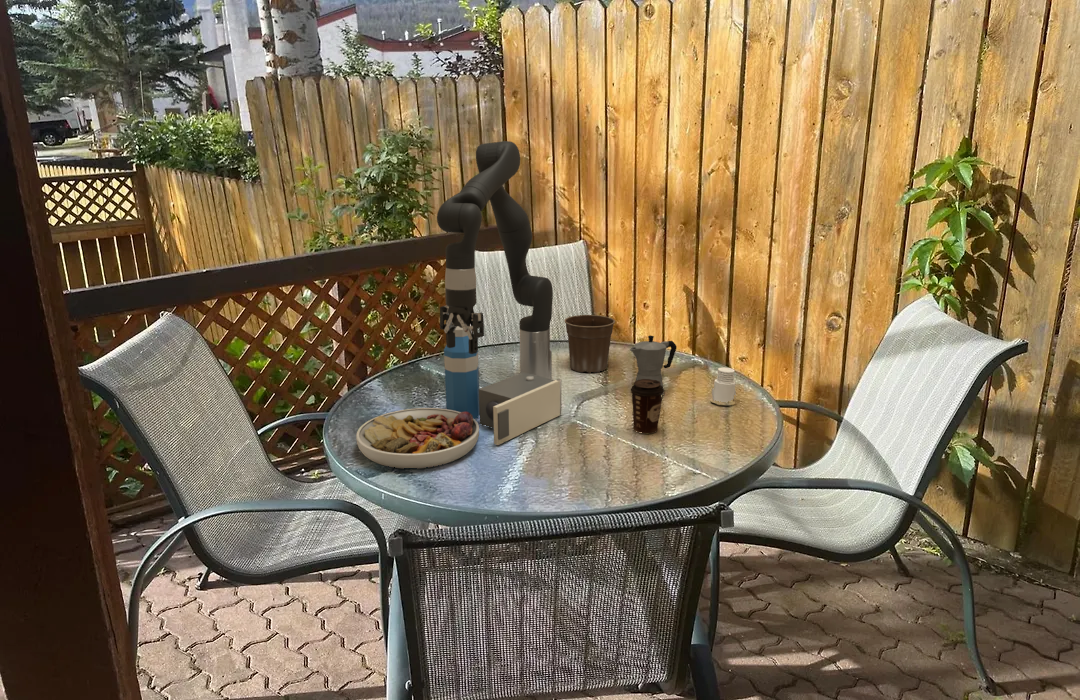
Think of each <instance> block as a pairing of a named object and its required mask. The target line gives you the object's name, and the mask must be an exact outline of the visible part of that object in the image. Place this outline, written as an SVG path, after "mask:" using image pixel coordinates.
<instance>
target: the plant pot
mask: <svg viewBox="0 0 1080 700" xmlns="http://www.w3.org/2000/svg"><path fill="white" fill-rule="evenodd" d="M615 323H616V320H615V319H614V318H612V317H609V316H604V315H598V314H578V315H571V316H568V317H566V318H564V324H565V325H566V326H565V327H566V334H567V339H568V353H569V367H570V369H571V370H573V371H575V372H578V373H585V372H586V373H589V374H592V373H591V372H597V373H601V372H600V371H602V372H604V371H606V370H607V369H606V368H608V366H609V365H608V363H609V355H610V346H611V338H612V334H613V331H614V330H613V329H614V325H615ZM605 369H606V370H605ZM603 370H604V371H603Z"/></svg>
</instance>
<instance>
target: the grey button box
mask: <svg viewBox="0 0 1080 700" xmlns="http://www.w3.org/2000/svg"><path fill="white" fill-rule="evenodd" d="M555 380H556V379H548V378H544V377H540V376H536V375H532V374H528V373H524V372H521V373H520V372H519V373H516V374H514V375H512V376H509V377H506V378H504V379H501V380H499V381H496V382H494V383H491V384H489V385H486V386H483V387H481V388H479V425H480V424H482V425H481V426H483V425H486V426H489V427H492V428H491V429H493V428H494V417H493V406H496V405H498V404H501V403H503V402H505V401H508V400H510V399H512V398H515V397H517V396H519V395H522V394H524V393H526V392H529V391H531V390H534V389H536V388H538V387H541V386H543V385H545V384H548V383H550V382H552V381H555ZM486 426H485V427H486ZM489 427H488V428H489Z"/></svg>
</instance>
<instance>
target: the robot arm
mask: <svg viewBox="0 0 1080 700" xmlns="http://www.w3.org/2000/svg"><path fill="white" fill-rule="evenodd" d="M475 161H476V165H477V166H476V167H477V171H478V174H477V173H476V174H475V175H474V176H473V177H472V178H470V179H469V180H467V182H466V183H465V184H464V186H463V187H462V189H461V190H460V191H459V192H458V193H456V194H454V195H452V196H451V197H449V198H448V199H446V200H445V201H444V202H443V203H442V204H441V205H440V207H439V209H438V211H437V214H436V222H437V225H438V227H439V229H440V230H442V232H446V233H453V234H455V233H457V234H463V237H462V239H461V240H460V241H456V242H451V243H448V244H447V245H446V247H445V274H444V276H445V277H444V280H445V281H444V283H445V284H444V285H445V286H444V287H445V289H444V290H445V305H442V306H440V308H439V329H440V330H443V331H444V333H445V341H446V342H445V343H446V345H447V347H448V348H453V347H455V333H454V331H455V329H456V327H457V326H459V327H460V328H463V330H464V331H465V332H466V333H467V335H468V337H469V354H475V353H477V351H478V352H479V344H478V343H479V338H482V337H484V336H485V324H484V313H483V312H475V310H474V307H475V306H476V305H477V273H476V265H475V264H476V258H475V257H476V255H475V254H476V253H475V252H476V246H477V240H478V236H479V232H480V230H481V227H482V226H481V225H482V221H483V216H482V215H483V214H482V211H483V210H484V209H485V207H486V206H487V204H488V203H490V205H491V208H492V212H493V216H494V220H495V223H496V227H497V231H498V235H499V240H500V241H501V245H502V248H503V252H504V255H505V258H506V259H505V260H506V263H507V266H508V267H507V268H508V273H509V279H510V286H511V291H512V294H513V298H514V300H515V301H516V303H518V304H519V305H521V306H526V307H532V312H531V313H532V314H531V315H527V316H524V317H521V319H520V320H519V373H521V372H524V373H528V374H532V375H536V376H540V377H544V378H548V379H552V378H553V377H552V376H553V375H552V374H553V373H552V370H553V369H552V368H553V366H552V365H553V359H552V358H553V357H552V356H553V353H552V350H551V331H550V330H551V322H552V317H553V297H554V290H553V284H552V281H551V280H550V278H548V277H544V276H537V275H530V273H529V271H528V266H527V256H528V253H529V250H530V247H531V244H532V242H533V232H532V227H531V224H530V219H529V215H528V213H527V212H526V210H524V208H523V207H522V206H521V204H519V203H518V201H516V200H515V199H514V198H513V197H512V196H511V195H510V194H509V193H508V192H507V190H506V189H505V187H504V185H505V184H506V183H507V182H508V181H509V180H510V179H511V178H513V177H515V175H516V174H517V173H518V171H519V169H520V166H521V153H520V149H519V147H518V145H516V143H515V142H513V141H510V140H508V141H507V140H506V141H505V140H503V141H496V142H486V143H481V144H479V145H478V146H477V147H476V150H475ZM478 330H479V331H478ZM552 380H553V379H552Z"/></svg>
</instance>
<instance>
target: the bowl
mask: <svg viewBox="0 0 1080 700" xmlns="http://www.w3.org/2000/svg"><path fill="white" fill-rule="evenodd" d="M479 437H480V424H479V423H478V421H477V419H473V416H472V415H471V413H469V412H458V411H454V410H448V409H446V408H437V407H420V408H419V407H418V408H417V407H416V408H415V407H414V408H407V409H400V410H396V411H395V410H394V411H391V412H387V413H384V414H381V415H378V416H376V417H373V418H371V419H369V420H368V421H366V422H365V423H363V424H362V425H361V426H360V427H359V428H358V430H357V432H356V437H355V439H356V443H357V447H358V449H359V450H360V452H361V453H362V454H363V455H364V456H365V457H366V458H367V459H369V460H370V461H372V462H374V463H375V464H379V465H382V466H385V467H388V466H389V467H390V468H394V467H395V468H394V469H396V468H397V469H404V468H417V469H426V467H428V468H434V467H438V465H439V466H442V464H443V465H445V464H449V463H452V462H454V461H456V460H459V459H460V458H463V457H464V456H465V455H467V454H468V453H469V452H471V450H472V449H473V448H474V447H475V446H476V444H477V442H478V439H479ZM433 466H434V467H433Z"/></svg>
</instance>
